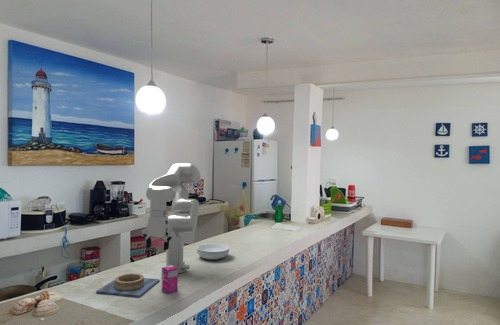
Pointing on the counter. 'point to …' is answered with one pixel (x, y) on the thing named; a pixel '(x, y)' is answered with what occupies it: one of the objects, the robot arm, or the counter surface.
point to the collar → (128, 285)
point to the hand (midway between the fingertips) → (157, 248)
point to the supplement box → (169, 279)
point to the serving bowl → (212, 251)
